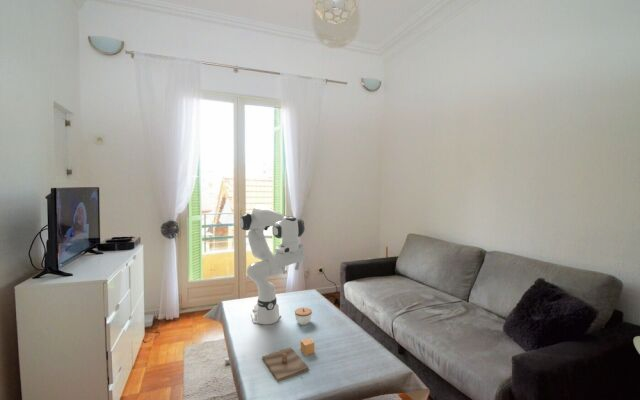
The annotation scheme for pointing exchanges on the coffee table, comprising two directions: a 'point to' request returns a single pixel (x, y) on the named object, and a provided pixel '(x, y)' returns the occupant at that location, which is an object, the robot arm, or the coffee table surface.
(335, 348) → the coffee table surface
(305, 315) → the lidded jar
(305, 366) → the post block
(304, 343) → the wooden toy cube
